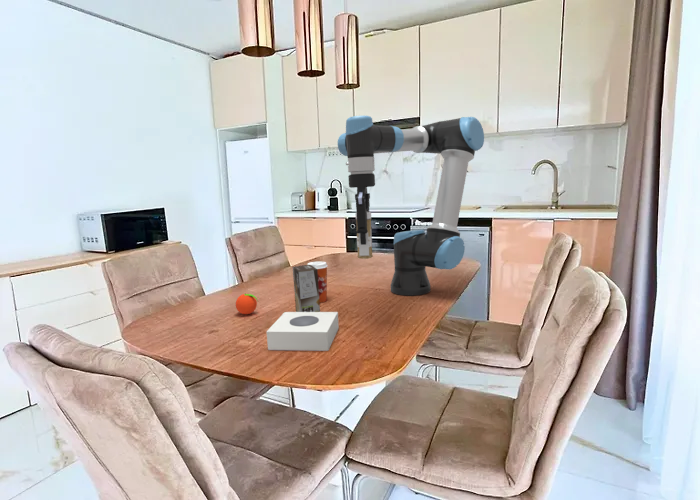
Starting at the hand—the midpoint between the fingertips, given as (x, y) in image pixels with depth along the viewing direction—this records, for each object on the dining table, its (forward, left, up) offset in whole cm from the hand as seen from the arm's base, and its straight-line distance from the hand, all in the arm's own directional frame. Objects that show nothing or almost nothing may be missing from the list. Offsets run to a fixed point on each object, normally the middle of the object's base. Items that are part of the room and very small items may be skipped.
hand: (365, 253), depth 120 cm
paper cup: (+20, -23, -21) cm, 37 cm away
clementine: (+41, -8, -21) cm, 47 cm away
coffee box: (+20, -6, -21) cm, 30 cm away
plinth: (+16, +13, -21) cm, 30 cm away
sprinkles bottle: (0, 0, -1) cm, 1 cm away
